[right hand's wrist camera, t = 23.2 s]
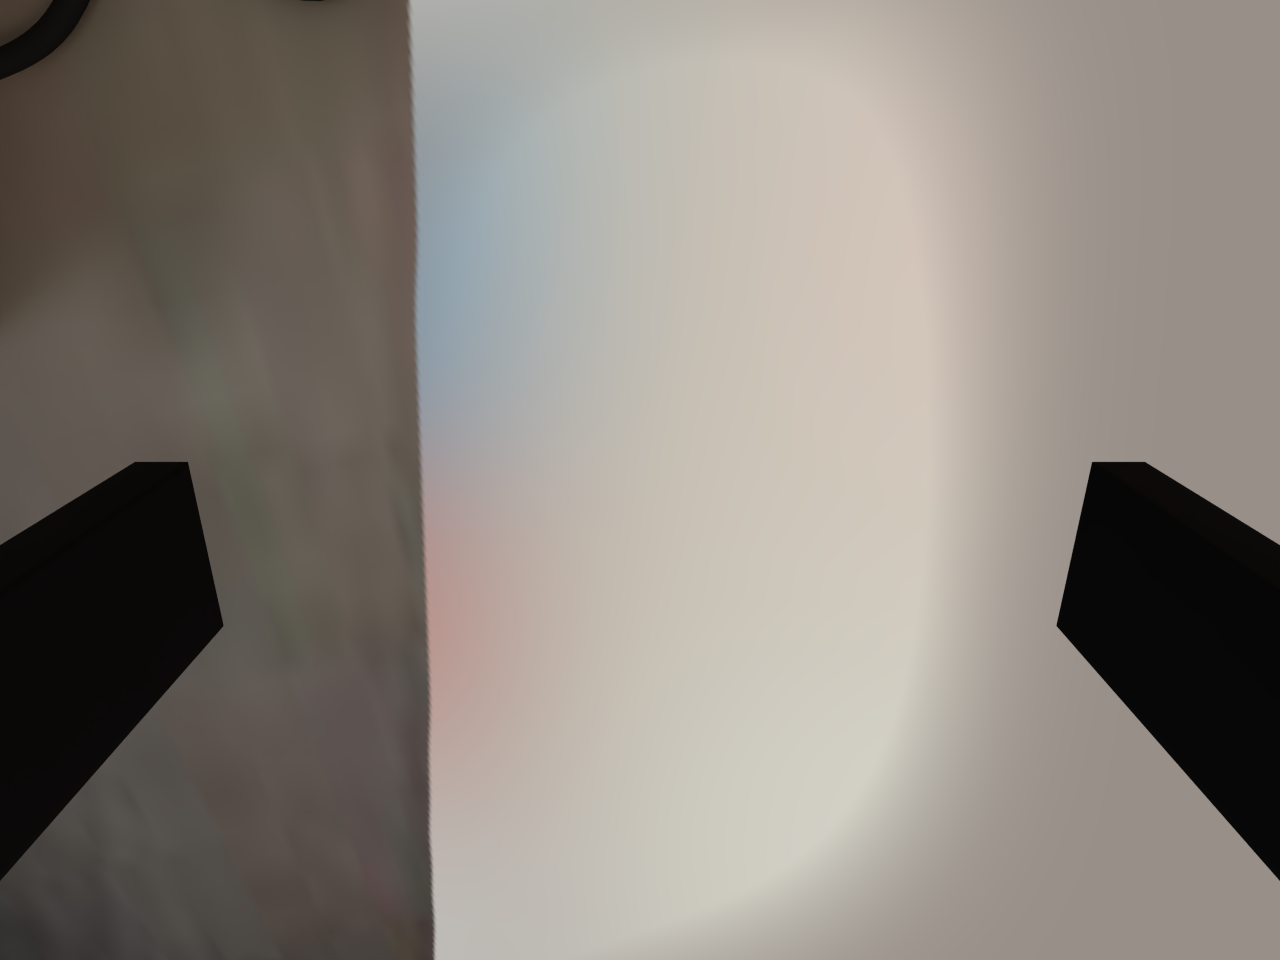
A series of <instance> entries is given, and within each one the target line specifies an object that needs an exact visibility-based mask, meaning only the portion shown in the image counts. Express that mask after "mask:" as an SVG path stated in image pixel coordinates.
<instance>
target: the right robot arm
mask: <svg viewBox="0 0 1280 960" xmlns="http://www.w3.org/2000/svg"><path fill="white" fill-rule="evenodd" d="M89 1H90V0H53V1H52V3H51V4H50V6H49V8H48V9H47V11H46V12H45V13H44V15H43V16H42V17H41V18H40V19H39V21H38V22H37V23H36V24H34V25H33V26H32V27H31V28H30V29H29V30H28V31H26V32H25V33H24V34H22V35H21V36H19V37H18V38H16V39H14V40H13V41H11V42H9V43H7V44H5V45H3V46H1V47H0V80H1V79H3V78H6V77H8V76H10V75H13V74H15V73H17V72H20V71H22V70H24V69H26V68H28V67H30V66H32V65H34V64H35V63H37V62H39V61H40V60H42V59H43V58H45V57H46V56H48V55H49V54H50V53H52V52H53V51H54V50H55V49H56V48H57V47H58V46H59V45H61V44H62V43H63V42H64V40H65V39H66V38H67V37H68V36H69V34H70V33H71V32H72V31H73V29H74V28H75V26H76V25H77V23H78V22H79V20H80V18H81V16H82V15H83V13H84V11H85V9H86V7H87V5H88V3H89ZM305 1H322V0H305ZM222 627H223V621H222V617H221V612H220V607H219V603H218V598H217V594H216V589H215V584H214V580H213V575H212V571H211V566H210V561H209V557H208V552H207V548H206V543H205V539H204V534H203V529H202V525H201V520H200V516H199V511H198V506H197V502H196V497H195V493H194V488H193V484H192V479H191V474H190V470H189V465H188V462H134V463H133V464H131V465H129V466H128V467H126V468H124V469H123V470H121V471H120V472H118V473H116V474H115V475H113V476H112V477H110V478H108V479H107V480H105V481H103V482H102V483H100V484H99V485H97V486H95V487H94V488H92V489H90V490H89V491H87V492H86V493H84V494H82V495H81V496H79V497H77V498H76V499H74V500H73V501H71V502H69V503H68V504H66V505H65V506H63V507H61V508H60V509H58V510H56V511H55V512H53V513H52V514H50V515H48V516H47V517H45V518H43V519H42V520H40V521H39V522H37V523H35V524H34V525H32V526H30V527H29V528H27V529H26V530H24V531H22V532H21V533H19V534H17V535H16V536H14V537H13V538H11V539H9V540H8V541H6V542H5V543H3V544H1V545H0V880H1V879H2V878H3V877H4V876H5V875H6V874H7V872H8V871H9V870H10V869H11V868H12V867H13V866H14V864H15V863H16V862H17V861H18V860H19V859H20V858H21V856H22V855H23V854H24V853H25V852H26V851H27V850H28V848H29V847H30V846H31V845H32V844H33V843H34V842H35V840H36V839H37V838H38V837H39V836H40V835H41V834H42V832H43V831H44V830H45V829H46V828H47V827H48V826H49V824H50V823H51V822H52V821H53V820H54V819H55V818H56V816H57V815H58V814H59V813H60V812H61V811H62V810H63V809H64V807H65V806H66V805H67V804H68V803H69V802H70V801H71V799H72V798H73V797H74V796H75V795H76V794H77V793H78V791H79V790H80V789H81V788H82V787H83V786H84V785H85V783H86V782H87V781H88V780H89V779H90V778H91V777H92V775H93V774H94V773H95V772H96V771H97V770H98V769H99V767H100V766H101V765H102V764H103V763H104V762H105V761H106V759H107V758H108V757H109V756H110V755H111V754H112V753H113V751H114V750H115V749H116V748H117V747H118V746H119V745H120V743H121V742H122V741H123V740H124V739H125V738H126V737H127V735H128V734H129V733H130V732H131V731H132V730H133V729H134V727H135V726H136V725H137V724H138V723H139V722H140V721H141V719H142V718H143V717H144V716H145V715H146V714H147V713H148V711H149V710H150V709H151V708H152V707H153V706H154V705H155V703H156V702H157V701H158V700H159V699H160V698H161V697H162V696H163V694H164V693H165V692H166V691H167V690H168V689H169V688H170V686H171V685H172V684H173V683H174V682H175V681H176V680H177V678H178V677H179V676H180V675H181V674H182V673H183V672H184V670H185V669H186V668H187V667H188V666H189V665H190V664H191V662H192V661H193V660H194V659H195V658H196V657H197V656H198V654H199V653H200V652H201V651H202V650H203V649H204V648H205V646H206V645H207V644H208V643H209V642H210V641H211V640H212V638H213V637H214V636H215V635H216V634H217V633H218V632H219V630H220V629H221V628H222ZM1057 627H1058V628H1059V629H1060V630H1061V632H1062V633H1063V634H1064V635H1065V636H1066V637H1067V638H1068V640H1069V641H1070V642H1071V643H1072V644H1073V645H1074V646H1075V648H1076V649H1077V650H1078V651H1079V652H1080V653H1081V654H1082V656H1083V657H1084V658H1085V659H1086V660H1087V661H1088V662H1089V663H1090V665H1091V666H1092V667H1093V668H1094V669H1095V670H1096V671H1097V673H1098V674H1099V675H1100V676H1101V677H1102V678H1103V680H1104V681H1105V682H1106V683H1107V684H1108V685H1109V686H1110V688H1111V689H1112V690H1113V691H1114V692H1115V693H1116V694H1117V696H1118V697H1119V698H1120V699H1121V700H1122V701H1123V702H1124V703H1125V705H1126V706H1127V707H1128V708H1129V709H1130V710H1131V711H1132V713H1133V714H1134V715H1135V716H1136V717H1137V718H1138V719H1139V721H1140V722H1141V723H1142V724H1143V725H1144V726H1145V727H1146V729H1147V730H1148V731H1149V732H1150V733H1151V734H1152V735H1153V737H1154V738H1155V739H1156V740H1157V741H1158V742H1159V743H1160V745H1161V746H1162V747H1163V748H1164V749H1165V750H1166V751H1167V753H1168V754H1169V755H1170V756H1171V757H1172V758H1173V759H1174V761H1175V762H1176V763H1177V764H1178V765H1179V766H1180V767H1181V769H1182V770H1183V771H1184V772H1185V773H1186V774H1187V775H1188V777H1189V778H1190V779H1191V780H1192V781H1193V782H1194V783H1195V785H1196V786H1197V787H1198V788H1199V789H1200V790H1201V791H1202V793H1203V794H1204V795H1205V796H1206V797H1207V798H1208V799H1209V800H1210V802H1211V803H1212V804H1213V805H1214V806H1215V807H1216V808H1217V810H1218V811H1219V812H1220V813H1221V814H1222V815H1223V816H1224V818H1225V819H1226V820H1227V821H1228V822H1229V823H1230V824H1231V826H1232V827H1233V828H1234V829H1235V830H1236V831H1237V832H1238V834H1239V835H1240V836H1241V837H1242V838H1243V839H1244V840H1245V842H1246V843H1247V844H1248V845H1249V846H1250V847H1251V848H1252V850H1253V851H1254V852H1255V853H1256V854H1257V855H1258V856H1259V858H1260V859H1261V860H1262V861H1263V862H1264V863H1265V864H1266V866H1267V867H1268V868H1269V869H1270V870H1271V871H1272V872H1273V874H1274V875H1275V876H1276V877H1277V878H1278V879H1279V880H1280V545H1279V544H1277V543H1275V542H1274V541H1272V540H1271V539H1269V538H1267V537H1266V536H1264V535H1262V534H1261V533H1259V532H1258V531H1256V530H1254V529H1253V528H1251V527H1250V526H1248V525H1246V524H1245V523H1243V522H1241V521H1240V520H1238V519H1237V518H1235V517H1233V516H1232V515H1230V514H1228V513H1227V512H1225V511H1224V510H1222V509H1220V508H1219V507H1217V506H1215V505H1214V504H1212V503H1211V502H1209V501H1207V500H1206V499H1204V498H1203V497H1201V496H1199V495H1198V494H1196V493H1194V492H1193V491H1191V490H1190V489H1188V488H1186V487H1185V486H1183V485H1181V484H1180V483H1178V482H1176V481H1175V480H1173V479H1172V478H1170V477H1168V476H1167V475H1165V474H1164V473H1162V472H1160V471H1159V470H1157V469H1155V468H1154V467H1152V466H1151V465H1149V464H1147V463H1146V462H1092V465H1091V470H1090V474H1089V479H1088V484H1087V488H1086V493H1085V497H1084V502H1083V506H1082V511H1081V516H1080V520H1079V525H1078V529H1077V534H1076V539H1075V543H1074V548H1073V552H1072V557H1071V561H1070V566H1069V571H1068V575H1067V580H1066V584H1065V589H1064V594H1063V598H1062V603H1061V608H1060V612H1059V617H1058V621H1057Z"/></svg>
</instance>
